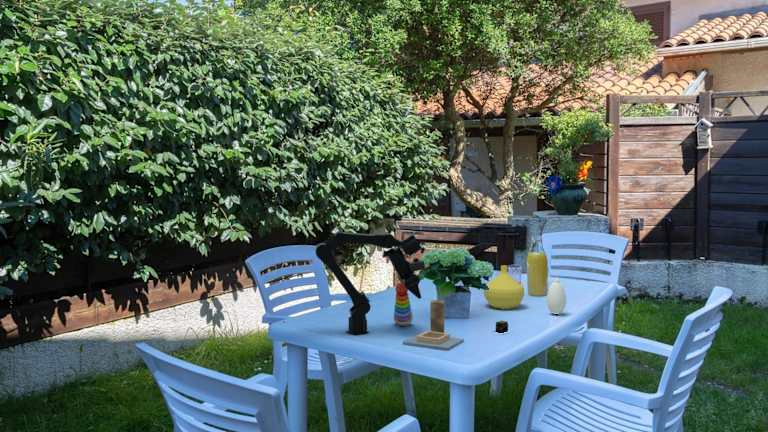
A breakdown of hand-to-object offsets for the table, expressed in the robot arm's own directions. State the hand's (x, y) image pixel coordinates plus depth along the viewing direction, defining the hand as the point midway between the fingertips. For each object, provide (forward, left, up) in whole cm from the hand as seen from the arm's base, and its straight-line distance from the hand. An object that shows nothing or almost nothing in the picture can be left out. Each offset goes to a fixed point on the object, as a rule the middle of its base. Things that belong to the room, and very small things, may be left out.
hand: (418, 296), depth 265 cm
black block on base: (+24, -22, -14) cm, 36 cm away
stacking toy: (+2, +12, -12) cm, 17 cm away
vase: (+59, +10, -14) cm, 61 cm away
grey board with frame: (-8, -18, -14) cm, 24 cm away
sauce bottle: (+65, -15, -14) cm, 68 cm away
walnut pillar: (+1, -10, -14) cm, 17 cm away
